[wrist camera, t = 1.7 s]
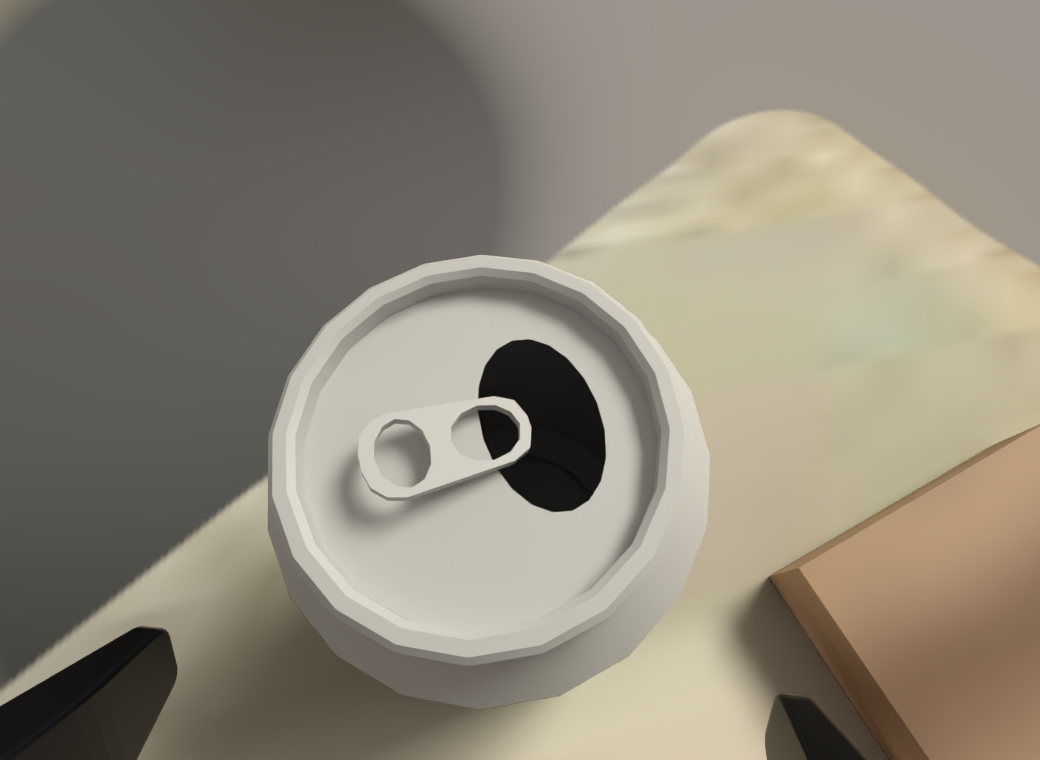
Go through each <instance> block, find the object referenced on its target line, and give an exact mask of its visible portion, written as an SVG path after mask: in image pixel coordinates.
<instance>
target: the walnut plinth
mask: <svg viewBox="0 0 1040 760" xmlns="http://www.w3.org/2000/svg"><path fill="white" fill-rule="evenodd" d="M769 578H770V579H771V581H772V582H773V584H774V585H775V587H776V588H777V590H778V591H779V593H780V594H781V596H782V597H783V599H784V600H785V602H786V603H787V605H788V606H789V608H790V609H791V611H792V612H793V614H794V616H795V617H796V619H797V620H798V622H799V623H800V625H801V626H802V628H803V629H804V631H805V632H806V634H807V635H808V637H809V638H810V640H811V641H812V643H813V644H814V646H815V647H816V649H817V650H818V652H819V654H820V655H821V657H822V658H823V660H824V661H825V663H826V664H827V666H828V667H829V669H830V670H831V672H832V673H833V675H834V676H835V678H836V679H837V681H838V682H839V684H840V685H841V687H842V688H843V690H844V692H845V693H846V695H847V696H848V698H849V699H850V701H851V702H852V704H853V705H854V707H855V708H856V710H857V711H858V713H859V714H860V716H861V717H862V719H863V720H864V722H865V723H866V725H867V726H868V728H869V730H870V731H871V733H872V734H873V736H874V737H875V739H876V740H877V742H878V743H879V745H880V746H881V748H882V749H883V751H884V752H885V754H886V755H887V757H888V758H889V760H1040V425H1037V426H1035V427H1033V428H1031V429H1028V430H1026V431H1024V432H1022V433H1019V434H1017V435H1015V436H1012V437H1010V438H1008V439H1006V440H1003V441H1001V442H999V443H997V444H994V445H993V446H991V447H989V448H987V449H986V450H984V451H982V452H981V453H979V454H977V455H975V456H974V457H972V458H970V459H969V460H967V461H965V462H963V463H962V464H960V465H958V466H957V467H955V468H953V469H952V470H950V471H948V472H946V473H945V474H943V475H941V476H940V477H938V478H936V479H934V480H933V481H931V482H929V483H928V484H926V485H924V486H923V487H921V488H919V489H917V490H916V491H914V492H912V493H911V494H909V495H907V496H905V497H904V498H902V499H900V500H899V501H897V502H895V503H894V504H892V505H890V506H888V507H887V508H885V509H883V510H882V511H880V512H878V513H876V514H875V515H873V516H871V517H870V518H868V519H866V520H865V521H863V522H861V523H859V524H858V525H856V526H854V527H853V528H851V529H849V530H847V531H846V532H844V533H842V534H841V535H839V536H837V537H836V538H834V539H832V540H830V541H829V542H827V543H825V544H824V545H822V546H820V547H818V548H817V549H815V550H813V551H812V552H810V553H808V554H807V555H805V556H803V557H801V558H800V559H798V560H796V561H795V562H793V563H791V564H789V565H788V566H786V567H784V568H783V569H781V570H779V571H777V572H776V573H774V574H772V575H771V576H769Z"/></svg>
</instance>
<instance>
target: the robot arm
mask: <svg viewBox="0 0 1040 760" xmlns="http://www.w3.org/2000/svg"><path fill="white" fill-rule="evenodd" d="M176 677H177V664H176V660H175V656H174V651H173V647H172V643H171V639H170V636H169V633H168V632H167V631H166V630H165V629H163V628H156V627H146V626H140V627H136V628H134V629H132V630H130V631H128V632H127V633H125V634H123V635H122V636H120V637H118V638H116V639H115V640H113V641H111V642H110V643H108V644H106V645H104V646H103V647H101V648H99V649H98V650H96V651H94V652H92V653H91V654H89V655H87V656H86V657H84V658H82V659H80V660H79V661H77V662H75V663H74V664H72V665H70V666H68V667H67V668H65V669H63V670H62V671H60V672H58V673H56V674H55V675H53V676H51V677H50V678H48V679H46V680H44V681H43V682H41V683H39V684H38V685H36V686H34V687H32V688H31V689H29V690H27V691H26V692H24V693H22V694H21V695H19V696H17V697H15V698H14V699H12V700H10V701H9V702H7V703H5V704H3V705H2V706H0V760H137V758H138V756H139V754H140V752H141V750H142V748H143V746H144V744H145V742H146V740H147V738H148V736H149V734H150V732H151V730H152V728H153V726H154V724H155V722H156V720H157V718H158V716H159V714H160V712H161V710H162V708H163V706H164V704H165V702H166V700H167V698H168V696H169V694H170V692H171V690H172V688H173V686H174V684H175V681H176ZM765 749H766V755H767V760H867V759H866V758H865V757H864V756H863V755H862V754H861V753H860V751H859V750H858V749H857V748H856V747H855V746H854V745H853V744H852V743H851V742H850V740H849V739H848V738H847V737H846V736H845V735H844V734H843V733H842V732H841V731H840V729H839V728H838V727H837V726H836V725H835V724H834V723H833V722H832V721H831V719H830V718H829V717H828V716H827V715H826V714H825V713H824V712H823V711H822V710H821V708H820V707H819V706H818V705H817V704H816V703H815V702H814V701H813V700H812V699H811V698H810V697H808V696H806V695H803V694H795V693H785V692H780V693H778V694H777V695H776V696H775V699H774V702H773V706H772V709H771V713H770V717H769V721H768V725H767V728H766V733H765Z"/></svg>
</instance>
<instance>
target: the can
mask: <svg viewBox="0 0 1040 760" xmlns="http://www.w3.org/2000/svg"><path fill="white" fill-rule="evenodd" d="M268 442H269V443H268V532H269V535H270V538H271V541H272V544H273V547H274V550H275V553H276V556H277V559H278V562H279V565H280V568H281V571H282V574H283V577H284V580H285V583H286V586H287V589H288V592H289V595H290V598H291V599H292V600H293V601H294V603H295V604H296V605H297V606H298V608H299V609H300V610H301V612H302V613H303V614H304V615H305V617H306V618H307V619H308V620H309V622H310V623H311V624H312V625H313V627H314V628H315V629H316V631H317V632H318V633H319V634H320V636H321V637H322V638H323V639H324V641H325V642H326V643H327V645H328V646H329V647H330V648H331V650H332V651H333V652H334V653H335V655H336V656H338V657H340V658H341V659H343V660H345V661H346V662H348V663H350V664H351V665H353V666H355V667H356V668H358V669H359V670H361V671H363V672H364V673H366V674H368V675H369V676H371V677H373V678H374V679H376V680H378V681H379V682H381V683H383V684H384V685H386V686H387V687H389V688H391V689H392V690H394V691H396V692H397V693H399V694H401V695H404V696H409V697H415V698H420V699H425V700H431V701H436V702H441V703H447V704H452V705H457V706H463V707H468V708H473V709H478V710H481V709H486V708H492V707H498V706H504V705H510V704H516V703H521V702H527V701H533V700H539V699H545V698H550V697H556V696H560V695H562V694H564V693H565V692H567V691H569V690H571V689H572V688H574V687H576V686H578V685H579V684H581V683H583V682H585V681H586V680H588V679H590V678H592V677H593V676H595V675H597V674H599V673H600V672H602V671H604V670H606V669H607V668H609V667H611V666H613V665H614V664H616V663H618V662H620V661H621V660H623V659H625V658H627V657H628V656H629V655H630V654H631V653H632V652H633V651H634V650H635V648H636V647H637V646H638V645H639V644H640V643H641V641H642V640H643V639H644V638H645V637H646V636H647V634H648V633H649V632H650V631H651V630H652V629H653V628H654V626H655V625H656V624H657V623H658V622H659V621H660V619H661V618H662V617H663V616H664V615H665V614H666V612H667V611H668V610H669V609H670V608H671V607H672V605H673V604H674V603H675V602H676V601H677V600H678V598H679V597H680V595H681V593H682V590H683V588H684V585H685V582H686V580H687V577H688V575H689V572H690V570H691V567H692V565H693V562H694V559H695V557H696V554H697V552H698V549H699V547H700V544H701V542H702V539H703V536H704V534H705V531H706V529H707V518H708V494H709V471H710V455H709V451H708V448H707V444H706V441H705V437H704V434H703V430H702V427H701V423H700V420H699V416H698V413H697V410H696V406H695V403H694V399H693V396H692V392H691V391H690V389H689V388H688V386H687V385H686V383H685V382H684V380H683V379H682V377H681V376H680V374H679V373H678V372H677V370H676V369H675V367H674V366H673V364H672V363H671V361H670V360H669V358H668V357H667V355H666V354H665V352H664V351H663V349H662V348H661V346H660V345H659V343H658V342H657V340H656V339H655V338H654V337H652V336H651V335H650V334H649V333H648V332H647V330H646V329H645V327H644V326H643V324H642V323H641V321H640V320H639V319H638V318H637V317H636V316H634V315H633V314H632V313H631V312H629V311H628V310H627V309H626V308H624V307H623V306H622V305H621V304H619V303H618V302H617V301H616V300H614V299H613V298H612V297H611V296H609V295H608V294H607V293H606V292H604V291H603V290H602V289H600V288H599V287H598V286H597V285H595V284H594V283H593V282H590V281H588V280H585V279H583V278H580V277H578V276H575V275H573V274H570V273H568V272H565V271H563V270H560V269H558V268H555V267H553V266H550V265H548V264H545V263H543V262H540V261H533V260H524V259H515V258H506V257H497V256H488V255H477V256H471V257H465V258H458V259H452V260H446V261H440V262H433V263H428V264H423V265H421V266H418V267H416V268H414V269H412V270H409V271H407V272H405V273H403V274H400V275H398V276H396V277H394V278H391V279H389V280H387V281H385V282H382V283H380V284H378V285H376V286H373V287H371V288H369V289H368V290H367V291H366V292H364V293H363V294H362V295H361V296H360V297H358V298H357V299H356V300H355V301H353V302H352V303H351V304H350V305H349V306H347V307H346V308H345V309H344V310H342V311H341V312H340V313H339V314H338V315H336V316H335V317H334V318H333V319H331V320H330V321H329V322H328V323H326V324H325V325H324V326H323V327H322V329H321V330H320V331H319V333H318V334H317V336H316V337H315V339H314V340H313V342H312V343H311V344H310V346H309V347H308V349H307V350H306V351H305V353H304V354H303V356H302V357H301V359H300V360H299V361H298V363H297V364H296V366H295V367H294V369H293V370H292V372H291V373H290V374H289V376H288V378H287V381H286V384H285V388H284V390H283V393H282V396H281V400H280V402H279V405H278V408H277V412H276V415H275V417H274V421H273V423H272V426H271V429H270V433H269V438H268Z"/></svg>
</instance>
